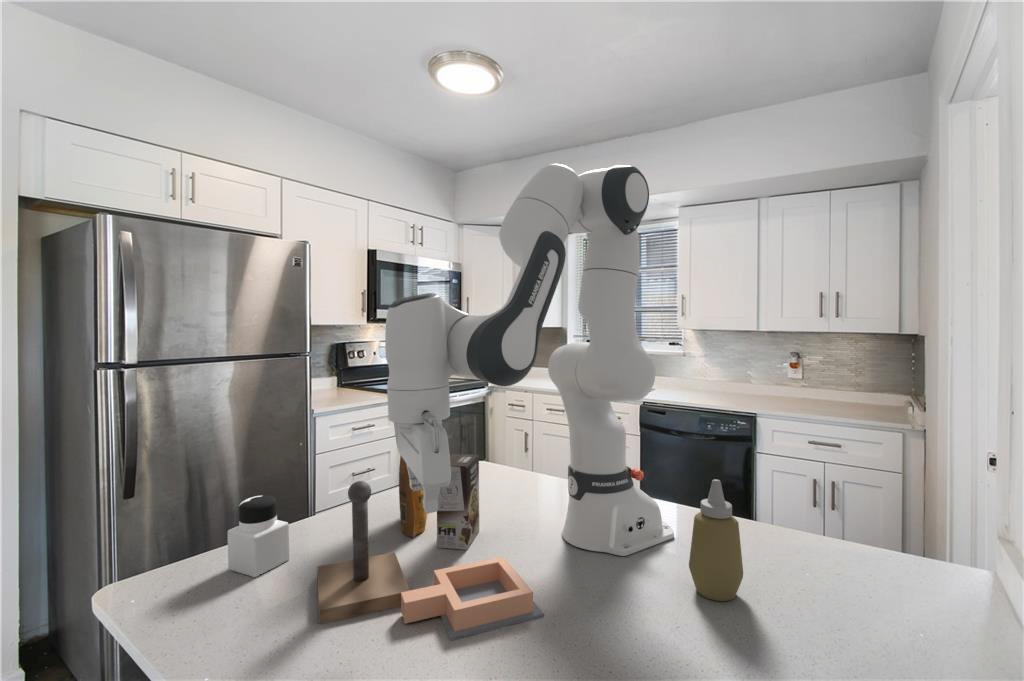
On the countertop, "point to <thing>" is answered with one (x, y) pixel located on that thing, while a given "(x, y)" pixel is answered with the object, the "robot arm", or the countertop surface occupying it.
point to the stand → (359, 572)
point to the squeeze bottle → (716, 548)
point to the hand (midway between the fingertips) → (423, 499)
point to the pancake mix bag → (410, 504)
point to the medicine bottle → (258, 538)
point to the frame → (473, 611)
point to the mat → (481, 592)
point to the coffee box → (459, 504)
